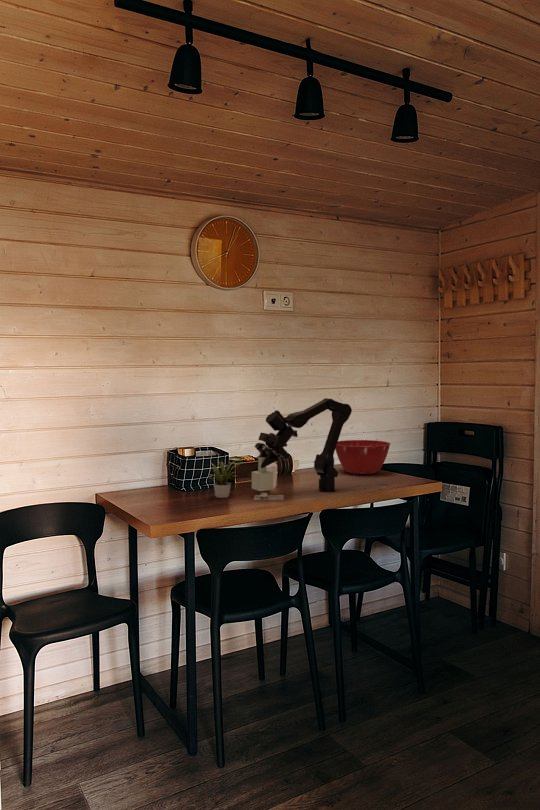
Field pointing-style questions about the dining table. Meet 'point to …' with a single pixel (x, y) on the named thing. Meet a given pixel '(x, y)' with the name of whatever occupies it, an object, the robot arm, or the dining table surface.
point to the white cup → (273, 469)
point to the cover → (262, 477)
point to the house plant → (222, 480)
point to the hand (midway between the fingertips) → (259, 467)
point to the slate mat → (269, 497)
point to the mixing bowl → (362, 455)
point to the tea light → (263, 495)
